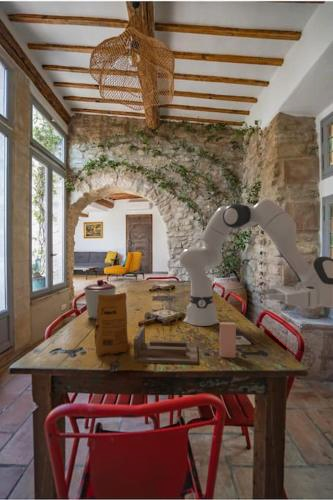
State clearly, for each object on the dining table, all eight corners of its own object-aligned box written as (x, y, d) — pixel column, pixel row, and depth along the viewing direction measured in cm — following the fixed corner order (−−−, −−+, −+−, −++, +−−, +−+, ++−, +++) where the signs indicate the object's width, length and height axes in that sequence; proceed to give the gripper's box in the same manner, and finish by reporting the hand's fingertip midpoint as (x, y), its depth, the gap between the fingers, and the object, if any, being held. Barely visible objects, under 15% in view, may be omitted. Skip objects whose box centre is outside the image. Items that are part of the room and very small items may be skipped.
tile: (219, 354, 103) (219, 322, 103) (234, 355, 102) (234, 322, 102) (220, 357, 101) (220, 324, 100) (235, 357, 100) (235, 324, 100)
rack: (142, 345, 112) (142, 325, 112) (196, 347, 110) (196, 326, 110) (133, 361, 97) (133, 339, 96) (197, 364, 95) (197, 340, 94)
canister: (120, 313, 165) (120, 277, 164) (111, 321, 147) (111, 281, 146) (90, 312, 166) (90, 277, 166) (78, 321, 148) (78, 281, 148)
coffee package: (94, 347, 111) (94, 291, 110) (125, 344, 114) (125, 290, 113) (94, 356, 101) (94, 296, 101) (128, 353, 104) (128, 294, 104)
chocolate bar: (237, 329, 131) (253, 342, 113) (237, 331, 131) (253, 345, 113) (219, 330, 130) (232, 344, 112) (219, 332, 130) (232, 346, 112)
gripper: (294, 281, 109) (257, 281, 110) (317, 290, 88) (272, 289, 90) (294, 297, 109) (257, 297, 110) (317, 309, 89) (272, 309, 90)
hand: (264, 294), depth 100 cm, fingers open, 8 cm apart
